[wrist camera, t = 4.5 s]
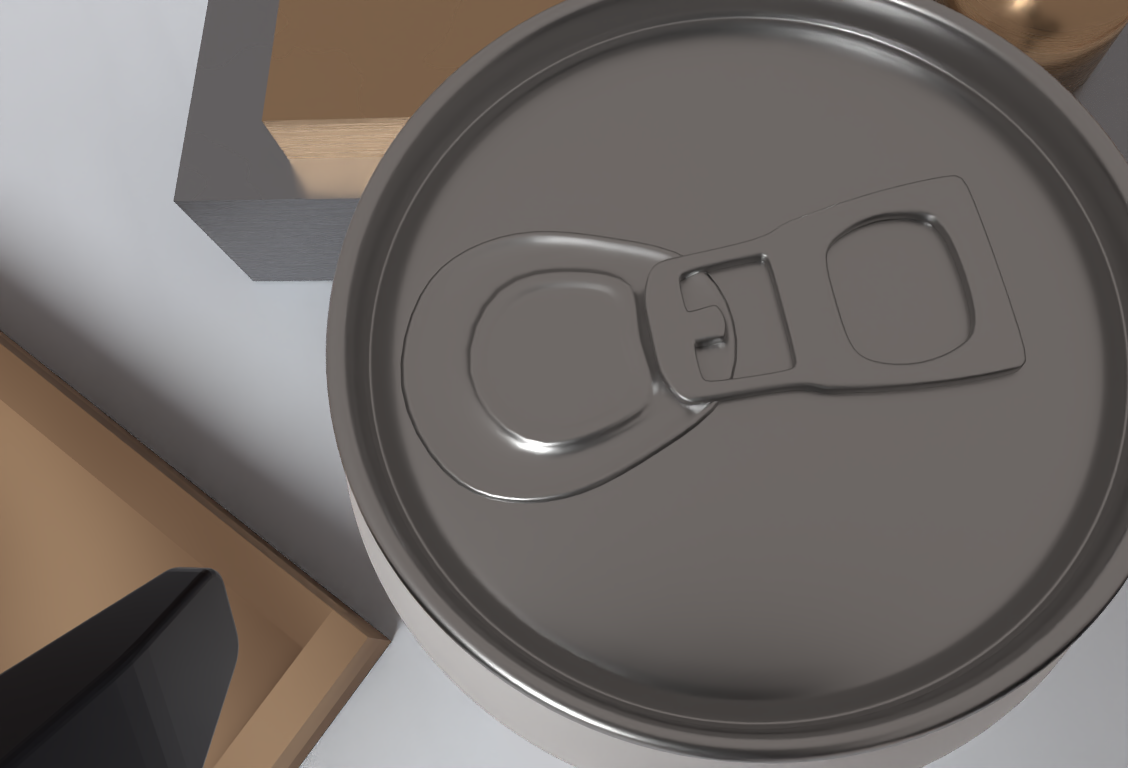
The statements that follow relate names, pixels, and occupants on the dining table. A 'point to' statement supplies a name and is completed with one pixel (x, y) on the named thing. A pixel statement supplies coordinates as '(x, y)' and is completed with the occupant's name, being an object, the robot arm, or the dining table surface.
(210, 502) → the walnut tray
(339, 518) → the dining table surface
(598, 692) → the can
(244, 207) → the iron block
